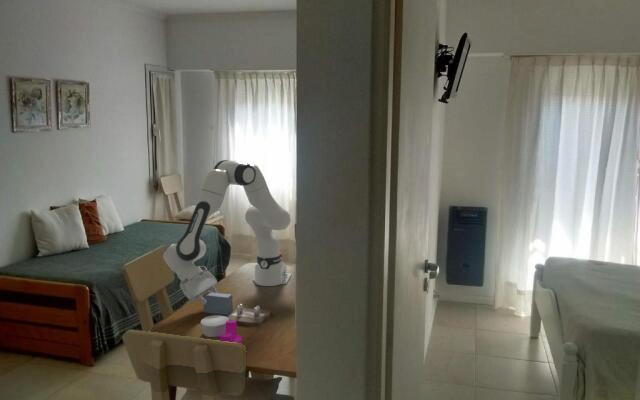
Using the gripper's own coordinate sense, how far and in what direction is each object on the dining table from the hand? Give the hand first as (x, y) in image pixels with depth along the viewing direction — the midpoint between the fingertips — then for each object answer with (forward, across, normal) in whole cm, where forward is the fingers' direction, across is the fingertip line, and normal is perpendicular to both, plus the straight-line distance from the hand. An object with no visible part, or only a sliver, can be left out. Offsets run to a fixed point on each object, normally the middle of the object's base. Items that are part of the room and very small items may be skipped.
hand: (211, 299), depth 231 cm
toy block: (+22, -30, -14) cm, 39 cm away
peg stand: (+17, -3, -10) cm, 20 cm away
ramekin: (+13, -20, -5) cm, 24 cm away
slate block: (+6, 0, +2) cm, 6 cm away
